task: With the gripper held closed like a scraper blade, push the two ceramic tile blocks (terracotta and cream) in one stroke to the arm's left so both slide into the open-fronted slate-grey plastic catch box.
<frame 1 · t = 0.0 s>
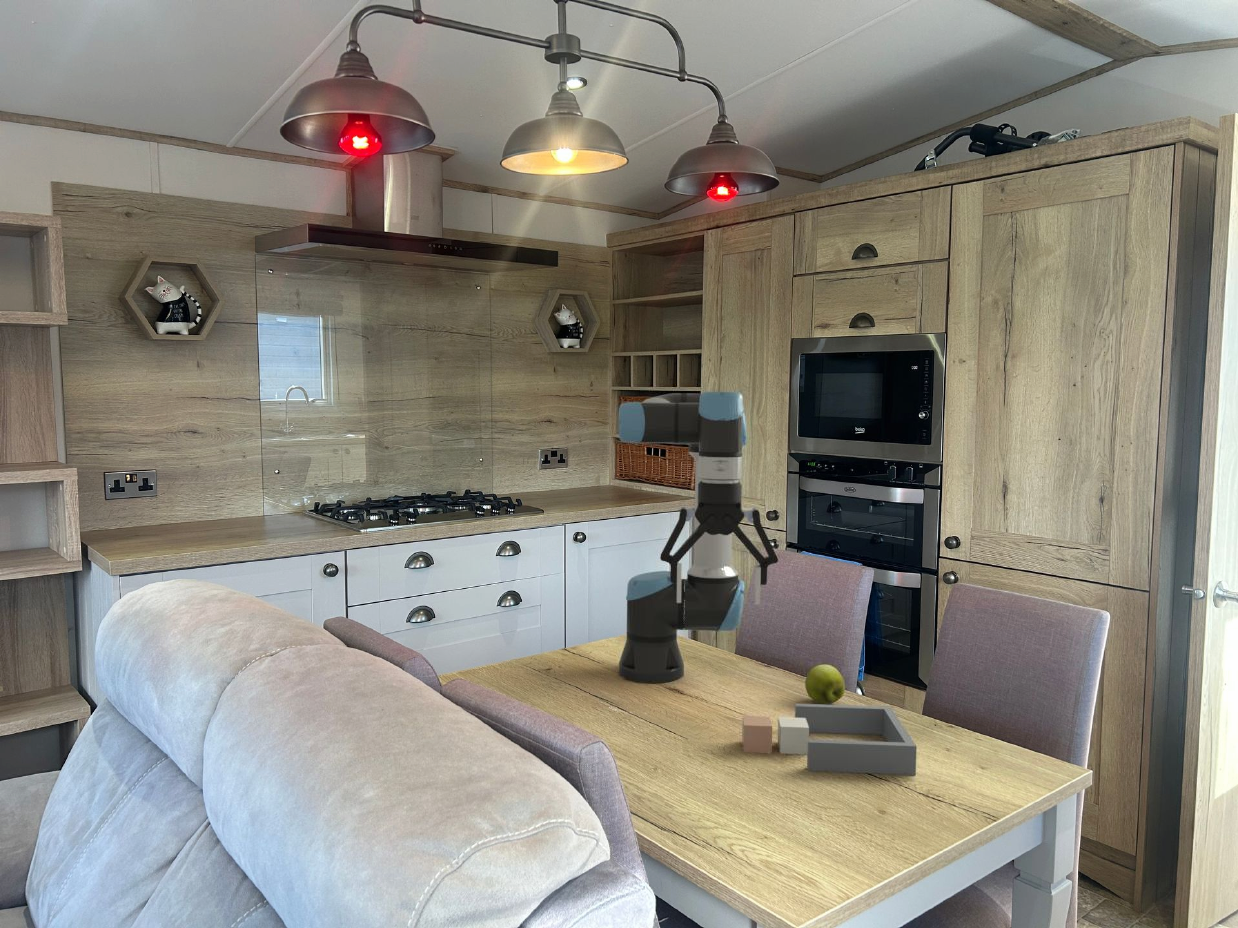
hand: (717, 602, 158), 28 cm above the table, fingers open, 13 cm apart
tile rear: (756, 747, 166), on the table
catch box: (851, 750, 165), on the table
apple: (824, 703, 191), on the table
tile front: (792, 748, 165), on the table
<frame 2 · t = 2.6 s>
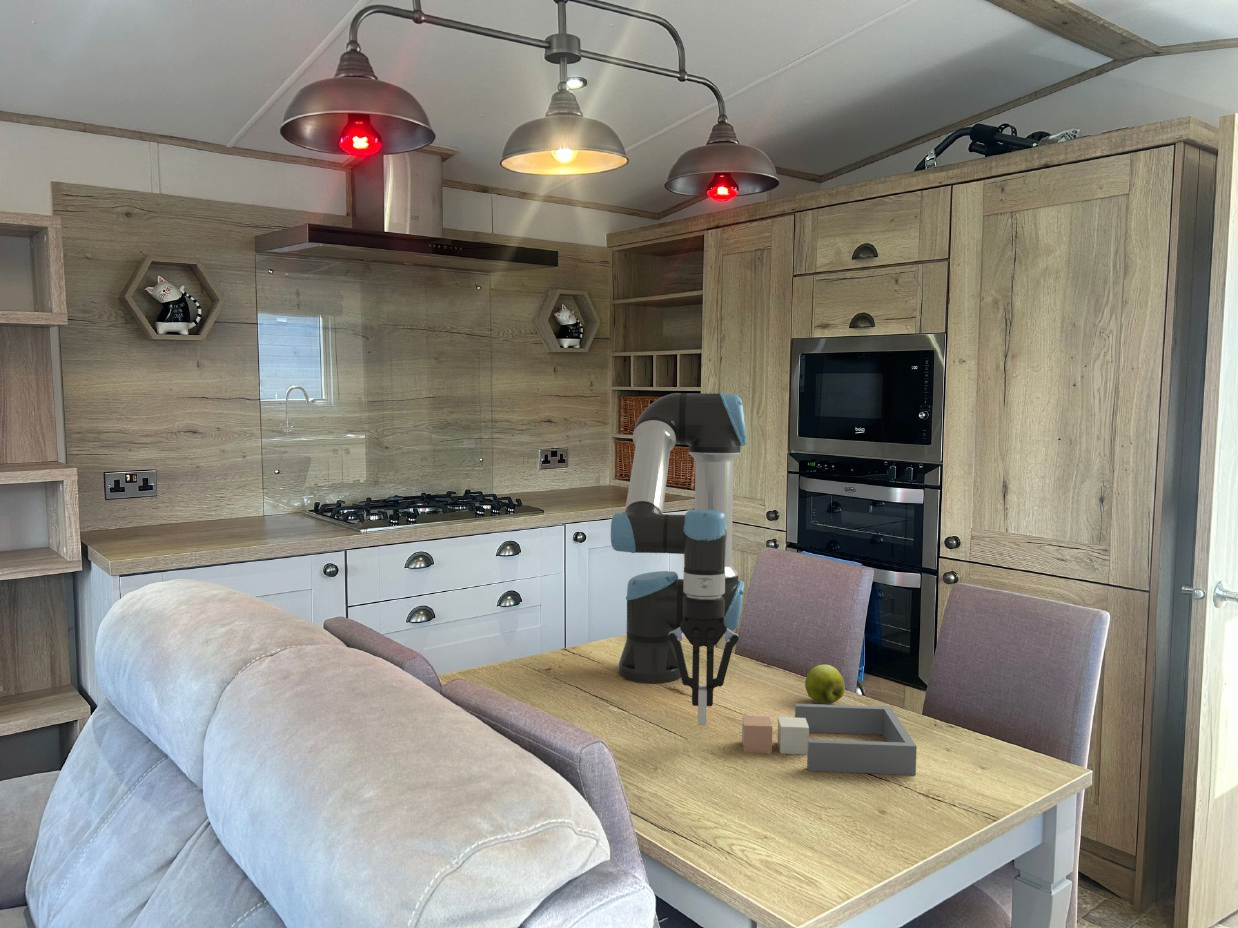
hand: (702, 722, 166), 4 cm above the table, fingers closed
nothing on the table moved.
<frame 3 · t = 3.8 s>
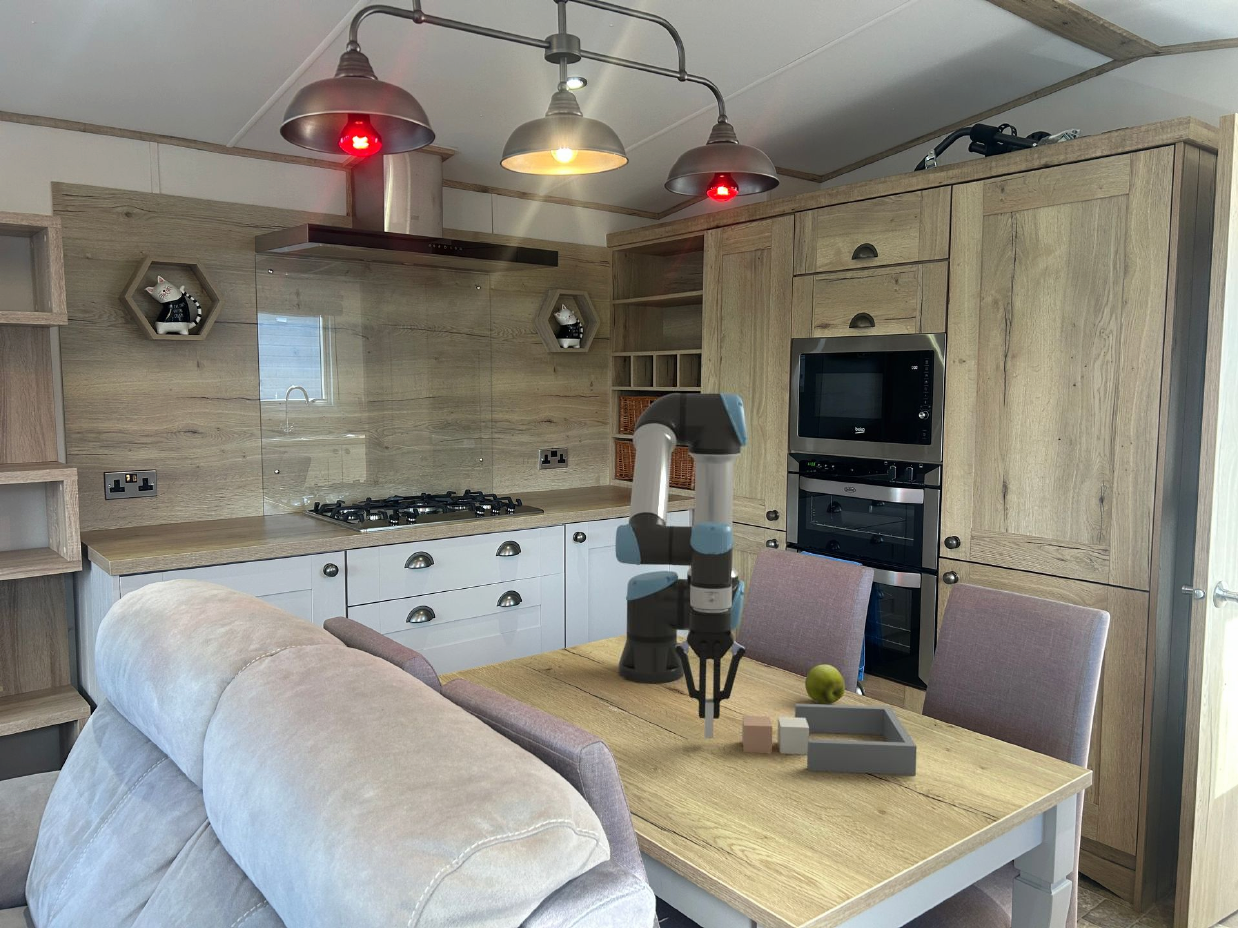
hand: (708, 734, 166), 2 cm above the table, fingers closed
nothing on the table moved.
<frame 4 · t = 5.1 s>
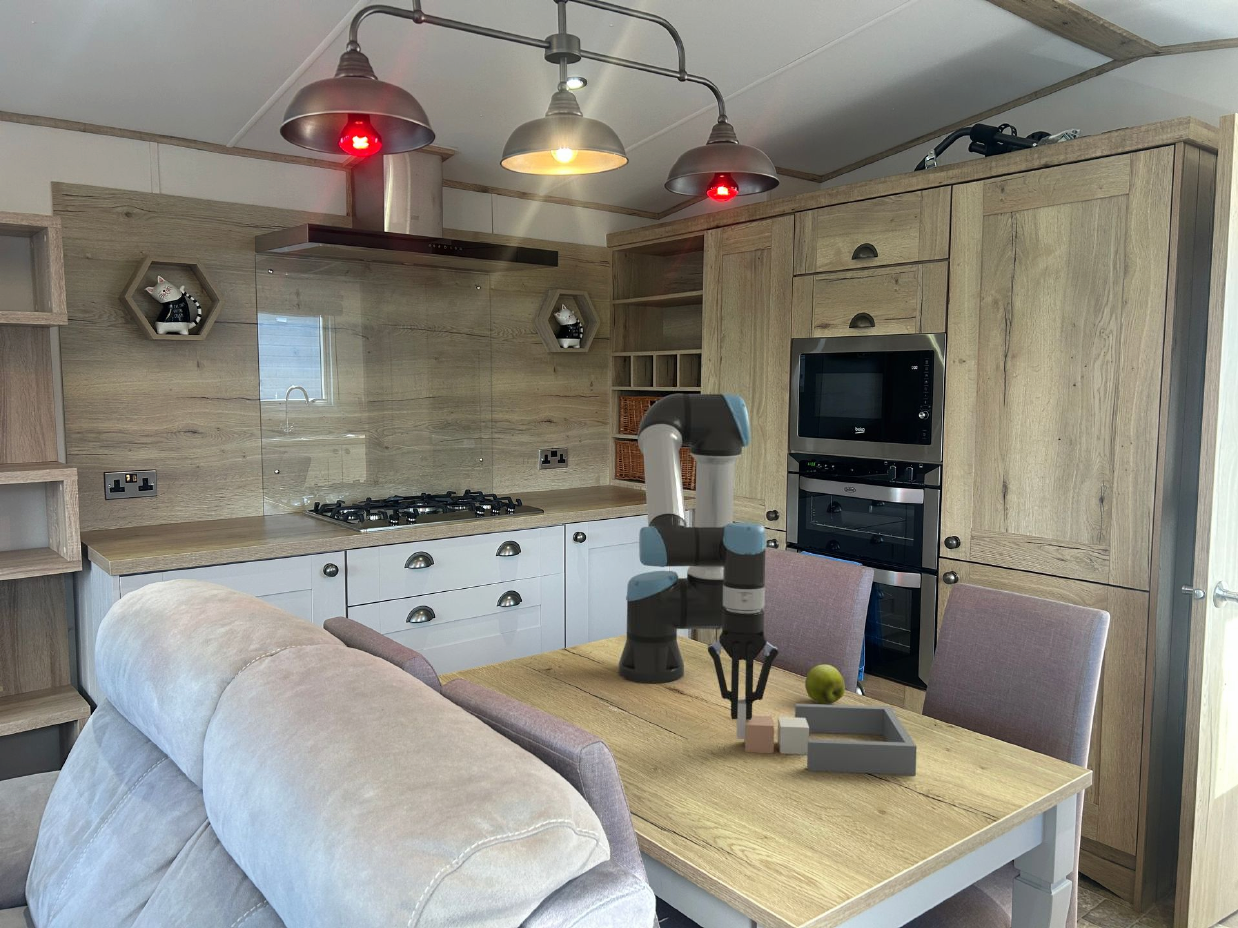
hand: (741, 735, 166), 2 cm above the table, fingers closed
tile rear: (758, 747, 166), on the table, touching gripper
everything else where it was.
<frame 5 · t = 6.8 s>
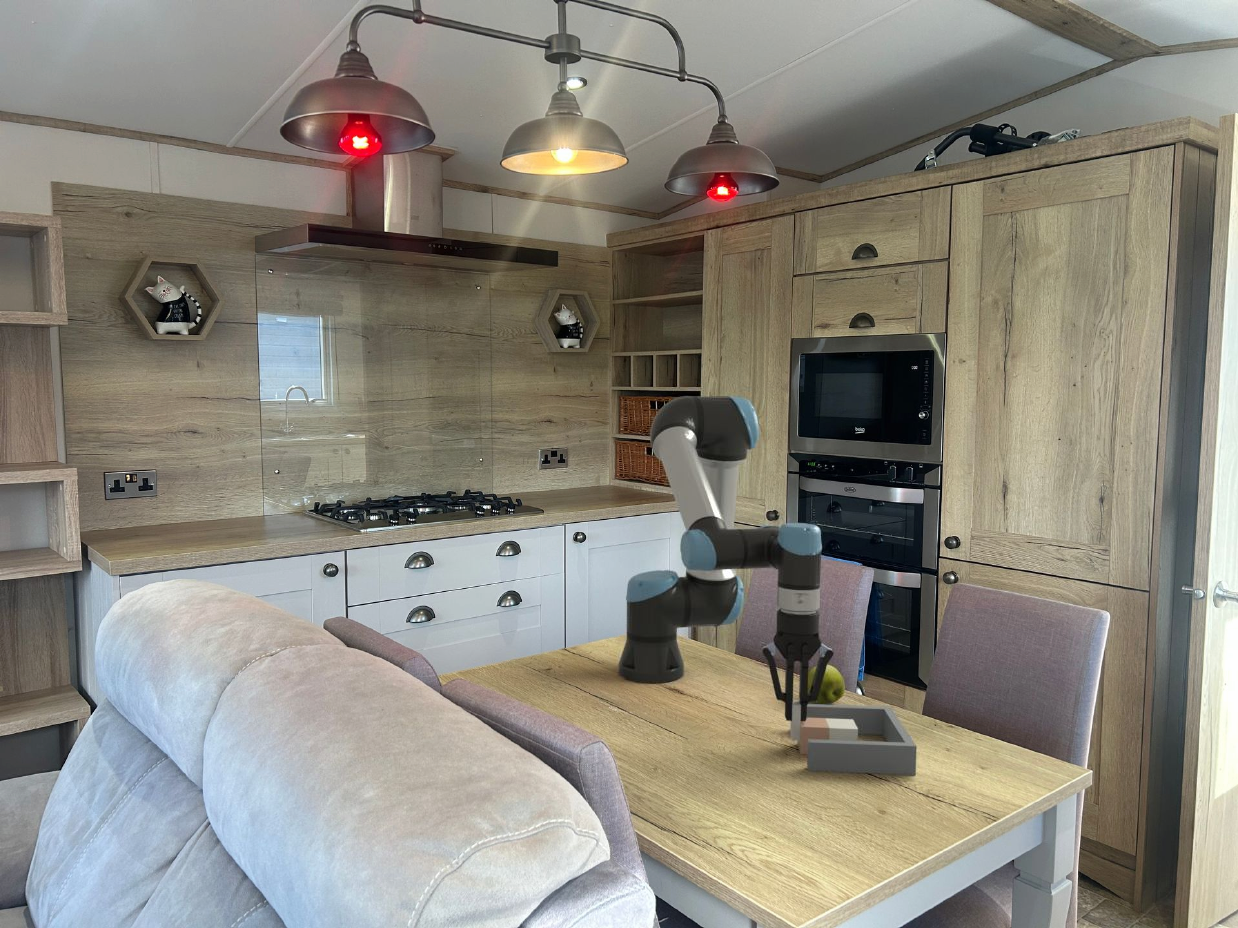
hand: (795, 737, 165), 2 cm above the table, fingers closed
tile rear: (812, 749, 165), on the table, touching gripper, tile front
tile front: (840, 750, 165), on the table, touching tile rear
everything else where it was.
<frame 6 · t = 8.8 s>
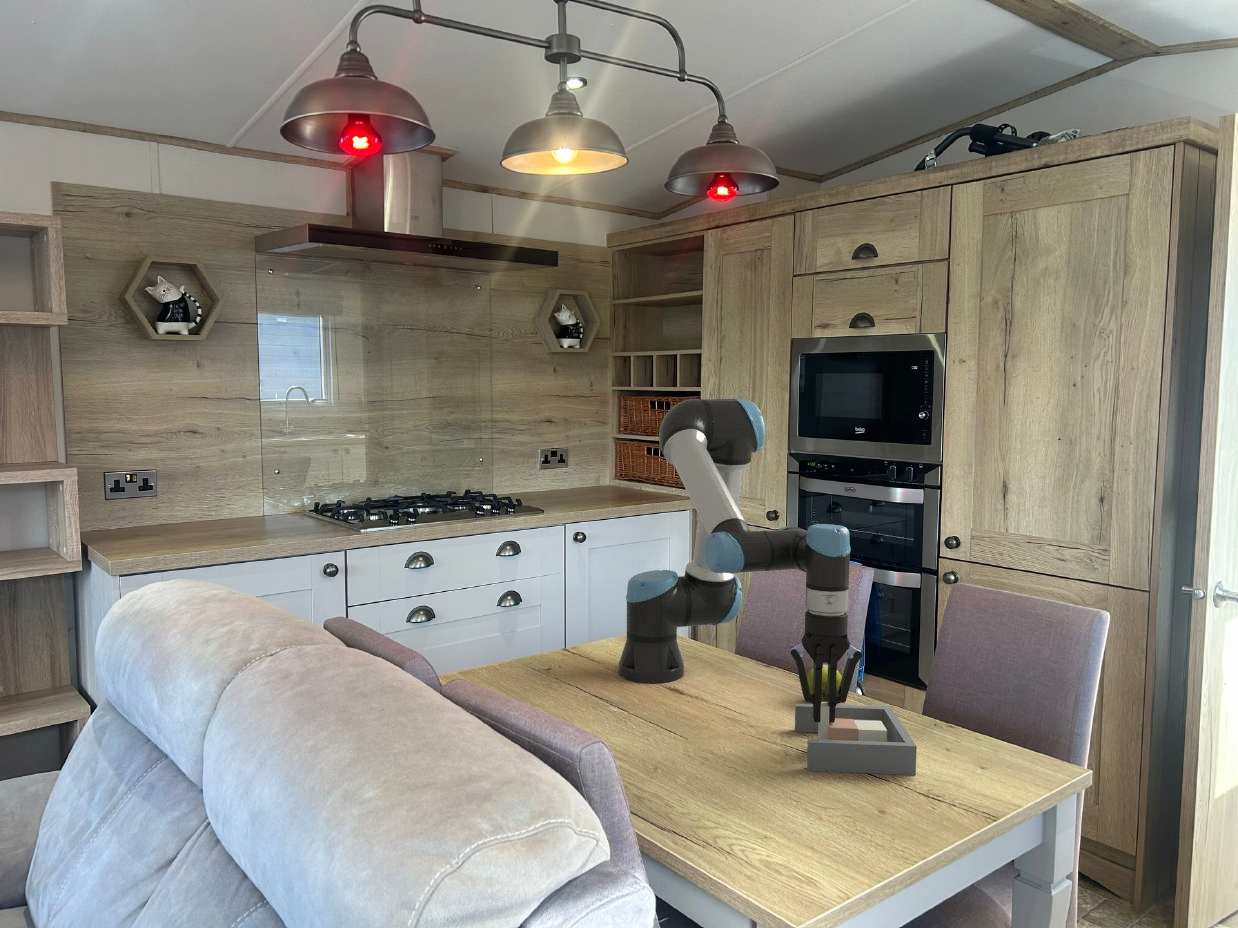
hand: (823, 739, 165), 2 cm above the table, fingers closed
tile rear: (840, 750, 165), on the table, touching gripper
tile front: (869, 751, 164), on the table
everything else where it was.
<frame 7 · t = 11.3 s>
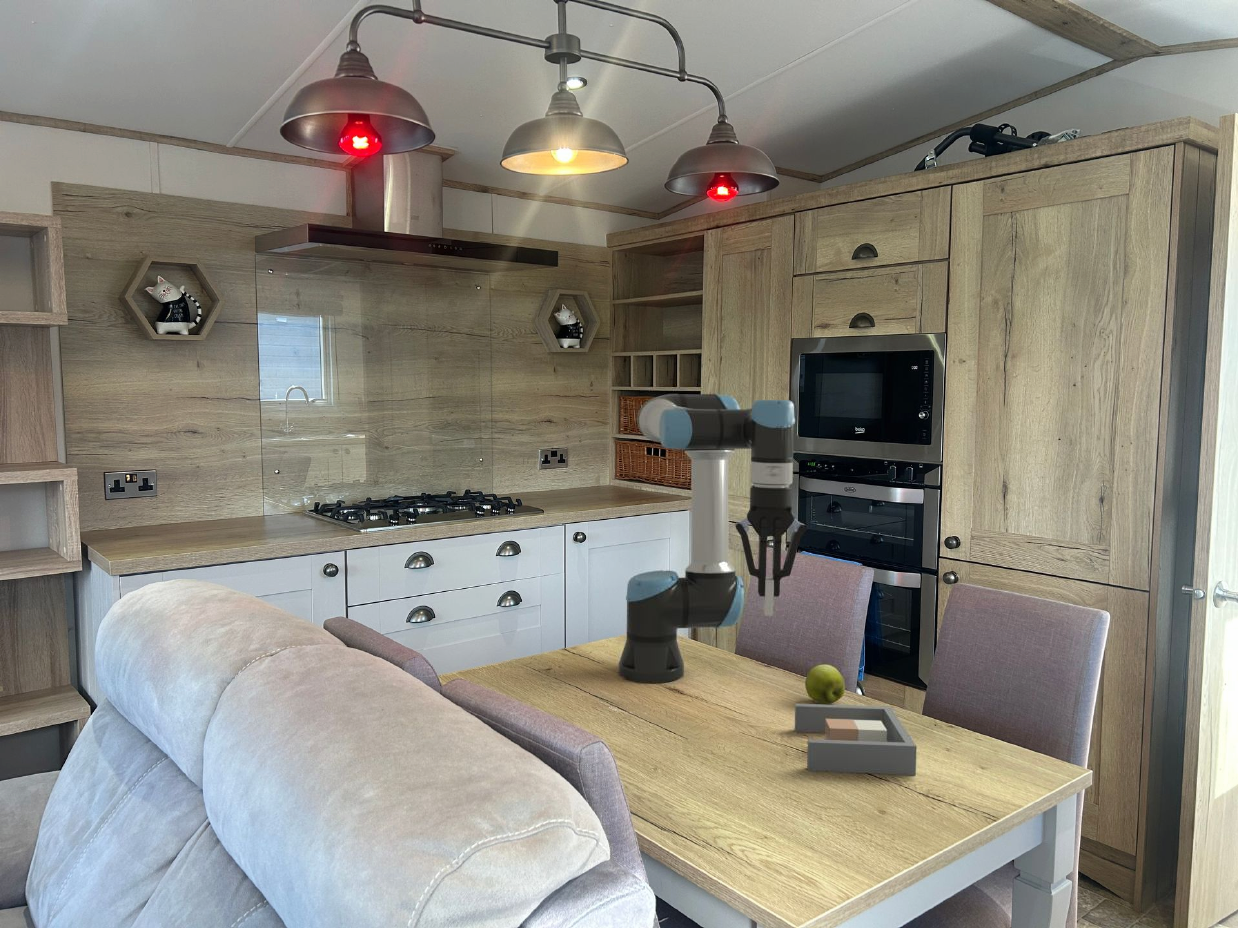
hand: (768, 613, 166), 24 cm above the table, fingers closed
tile rear: (840, 750, 165), on the table
everything else where it was.
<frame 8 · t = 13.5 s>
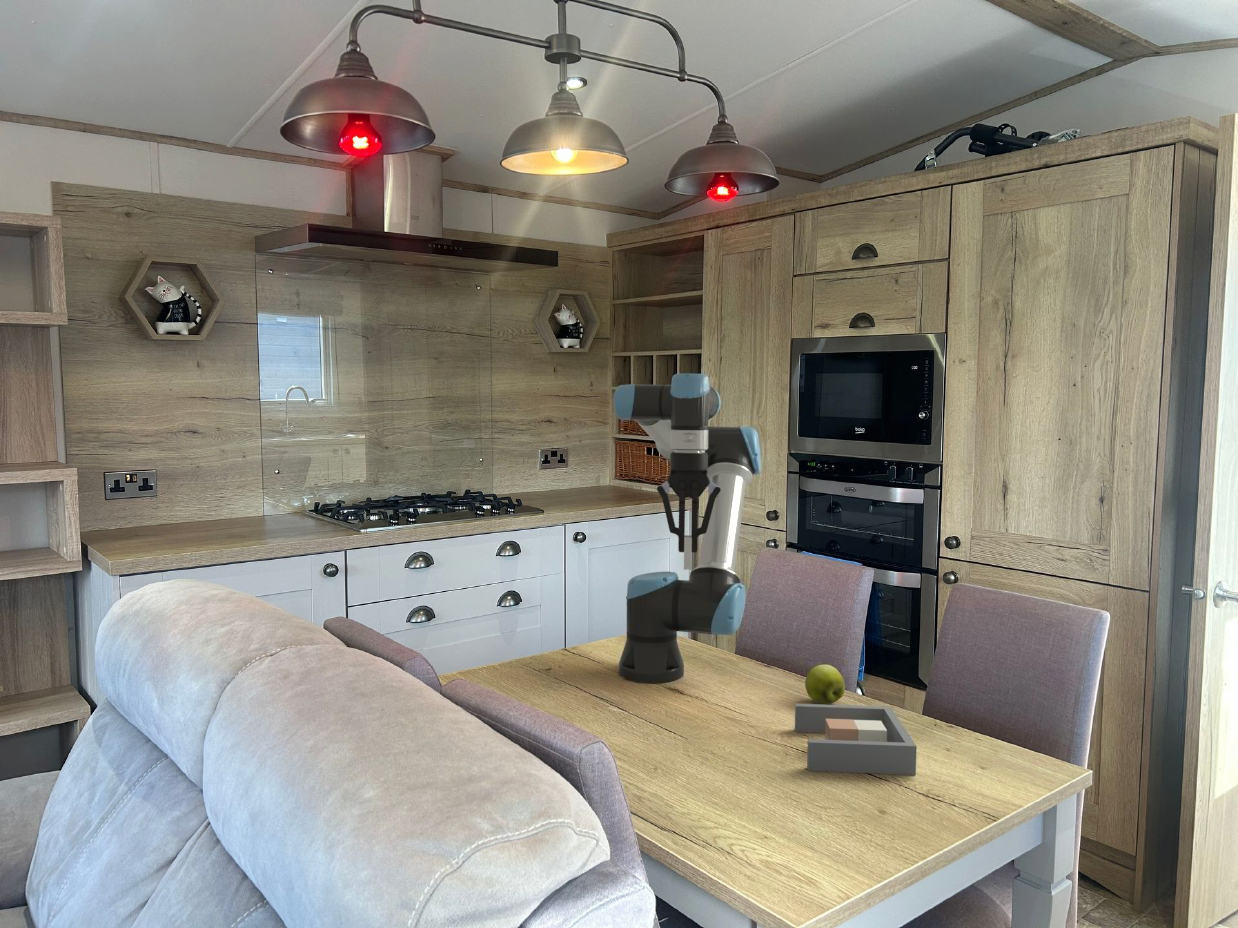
hand: (687, 568, 183), 29 cm above the table, fingers closed
nothing on the table moved.
at the end: tile rear inside the target area on the catch box (1.8 cm from its centre), point 0.0 cm above the catch box's base; tile front inside the target area on the catch box (3.2 cm from its centre), point 0.0 cm above the catch box's base; tile rear moved 15.2 cm from its start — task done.
